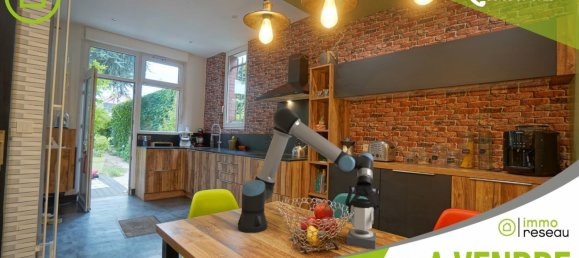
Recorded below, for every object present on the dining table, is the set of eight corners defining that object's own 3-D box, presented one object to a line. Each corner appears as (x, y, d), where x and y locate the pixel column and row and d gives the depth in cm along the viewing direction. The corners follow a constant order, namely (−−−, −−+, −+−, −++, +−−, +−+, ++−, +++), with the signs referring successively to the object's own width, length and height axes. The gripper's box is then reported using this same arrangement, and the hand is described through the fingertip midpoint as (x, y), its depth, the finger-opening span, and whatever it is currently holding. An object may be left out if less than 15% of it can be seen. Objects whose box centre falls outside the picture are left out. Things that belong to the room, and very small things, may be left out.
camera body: (346, 244, 118) (346, 234, 119) (349, 236, 129) (349, 227, 129) (375, 249, 114) (375, 238, 115) (375, 240, 125) (376, 230, 125)
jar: (361, 231, 116) (361, 203, 117) (347, 226, 123) (348, 199, 123) (375, 228, 121) (375, 201, 121) (361, 223, 128) (361, 197, 128)
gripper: (387, 185, 133) (386, 228, 118) (343, 182, 141) (338, 222, 125) (387, 176, 129) (386, 219, 113) (342, 173, 136) (336, 213, 120)
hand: (361, 220), depth 119 cm, fingers closed on jar, 8 cm apart
